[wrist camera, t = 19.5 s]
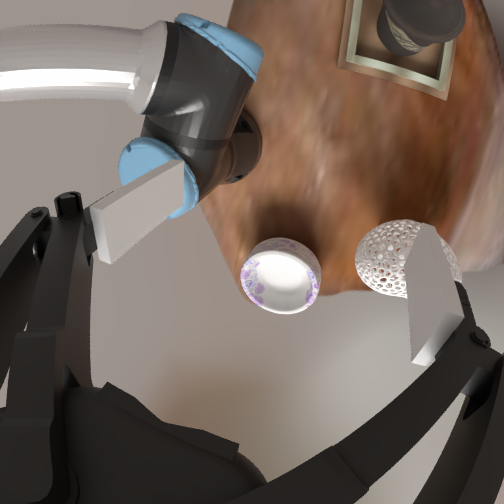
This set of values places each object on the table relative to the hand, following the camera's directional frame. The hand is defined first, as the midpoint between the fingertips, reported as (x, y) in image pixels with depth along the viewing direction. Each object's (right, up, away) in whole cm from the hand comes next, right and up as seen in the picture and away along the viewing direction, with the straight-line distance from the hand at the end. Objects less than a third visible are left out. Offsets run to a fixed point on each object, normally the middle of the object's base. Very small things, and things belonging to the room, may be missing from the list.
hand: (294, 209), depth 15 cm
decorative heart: (+26, +2, +35) cm, 43 cm away
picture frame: (+21, +32, +17) cm, 41 cm away
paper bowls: (+5, -4, +47) cm, 48 cm away
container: (+20, +31, +16) cm, 40 cm away
